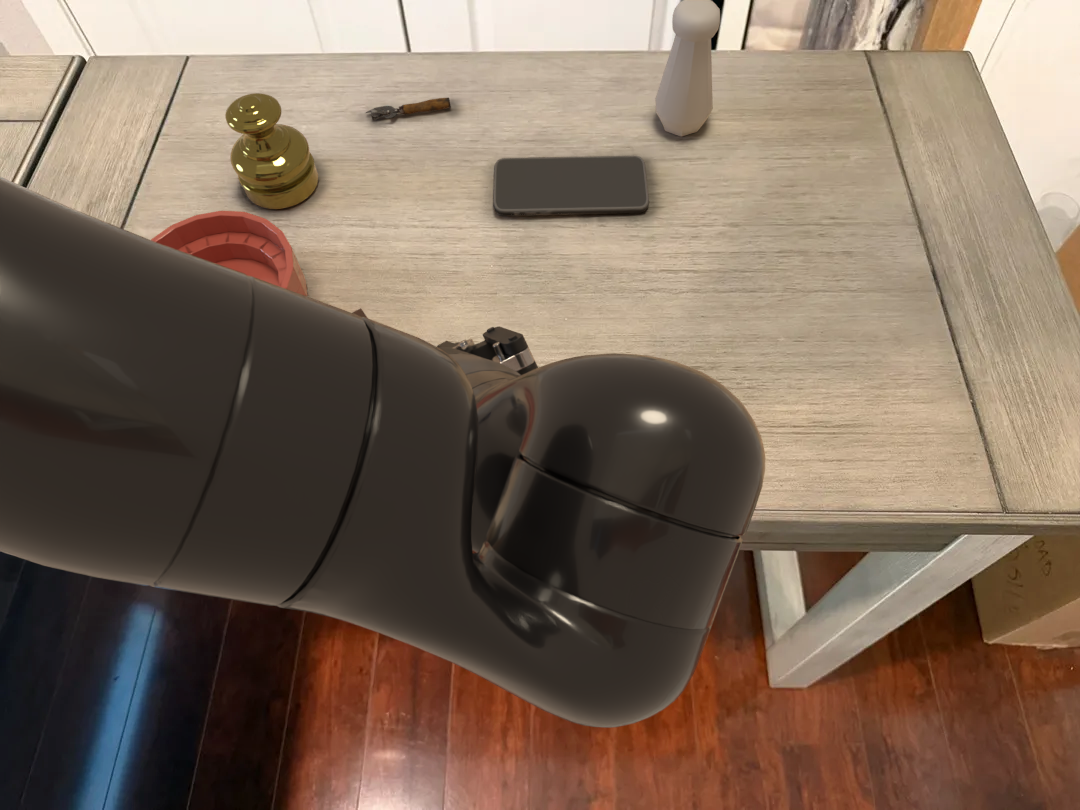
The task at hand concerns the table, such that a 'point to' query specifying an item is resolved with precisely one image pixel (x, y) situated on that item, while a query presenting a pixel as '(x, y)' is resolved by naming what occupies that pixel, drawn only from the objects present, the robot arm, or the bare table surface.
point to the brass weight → (269, 154)
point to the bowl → (238, 246)
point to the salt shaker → (688, 68)
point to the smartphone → (570, 185)
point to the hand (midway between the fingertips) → (391, 387)
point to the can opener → (412, 108)
